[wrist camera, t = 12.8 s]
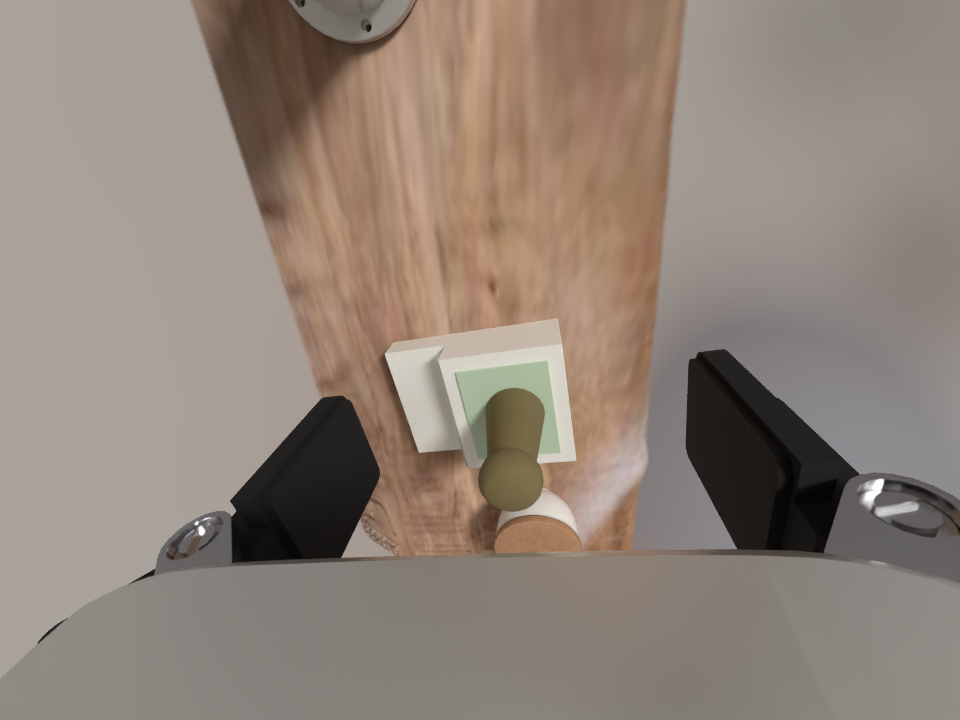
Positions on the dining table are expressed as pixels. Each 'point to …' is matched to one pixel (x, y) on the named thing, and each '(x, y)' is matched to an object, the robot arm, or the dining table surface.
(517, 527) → the lidded jar
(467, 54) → the dining table surface
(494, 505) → the cork
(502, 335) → the platform
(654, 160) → the dining table surface
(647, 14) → the dining table surface
